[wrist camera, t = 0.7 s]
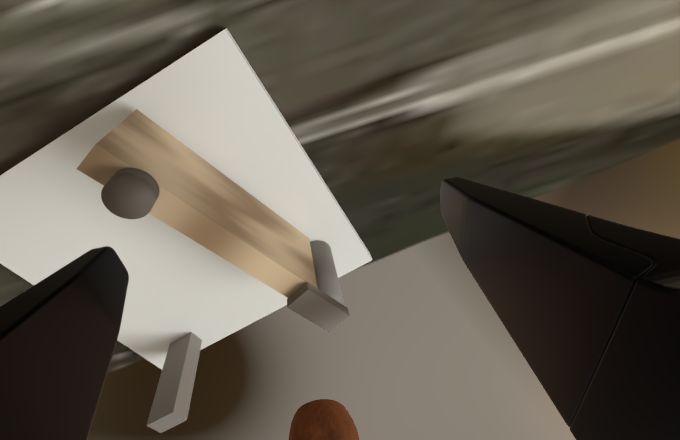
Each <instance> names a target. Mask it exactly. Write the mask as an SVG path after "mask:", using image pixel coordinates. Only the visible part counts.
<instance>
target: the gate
mask: <svg viewBox="0 0 680 440" xmlns="http://www.w3.org/2000/svg"><path fill="white" fill-rule="evenodd" d="M77 170H79V171H80V172H82V173H84V174H85V175H87V176H89V177H90V178H92V179H94V180H95V181H97V182H99V183H100V184H102V185H103V186H104V187H103V189H102V191H101V199H102V202H103V204H104V205H105V207H106V208H107V209H108V210H109V211H110V212H111V213H113V214H114V215H116V216H119V217H121V218H125V219H139V218H142V217H144V216H146V215H147V214H148V213H149V214H151V215H153V216H154V217H156V218H158V219H159V220H161V221H163V222H164V223H166V224H167V225H169V226H171V227H172V228H174V229H176V230H177V231H179V232H181V233H182V234H184V235H185V236H187V237H189V238H190V239H192V240H194V241H195V242H197V243H199V244H200V245H202V246H204V247H205V248H207V249H208V250H210V251H212V252H213V253H215V254H217V255H218V256H220V257H222V258H223V259H225V260H226V261H228V262H230V263H231V264H233V265H235V266H236V267H238V268H240V269H241V270H243V271H245V272H246V273H248V274H249V275H251V276H253V277H254V278H256V279H258V280H259V281H261V282H263V283H264V284H266V285H267V286H269V287H271V288H272V289H274V290H276V291H277V292H279V293H281V294H282V295H284V296H286V297H287V298H288V299H287V307H288V308H290V309H292V310H293V311H295V312H296V313H298V314H300V315H301V316H303V317H305V318H306V319H308V320H310V321H312V322H313V323H315V324H317V325H318V326H320V327H322V328H323V329H325V330H327V331H328V332H329V331H331V330H332V329H333V328H335V327H336V326H337V325H338V324H340V323H341V322H342V321H343V320H345V319H346V318H347V317H348V316H349V312H348V309H347V307H345V306H344V305H342V304H341V303H339V302H338V301H336V300H335V299H333V298H332V297H330V296H329V295H327V294H326V293H324V292H323V291H321V290H320V289H318V287H317V281H316V276H315V270H314V264H313V258H312V252H311V246H310V240H309V238H308V237H307V236H305V235H304V234H303V233H301V232H300V231H299V230H297V229H296V228H295V227H293V226H292V225H291V224H289V223H288V222H287V221H285V220H284V219H283V218H281V217H280V216H279V215H277V214H276V213H275V212H273V211H272V210H271V209H269V208H268V207H267V206H265V205H264V204H263V203H261V202H260V201H259V200H257V199H256V198H255V197H253V196H252V195H251V194H249V193H248V192H247V191H245V190H244V189H243V188H241V187H240V186H239V185H237V184H236V183H235V182H233V181H232V180H231V179H229V178H228V177H227V176H225V175H224V174H223V173H221V172H220V171H219V170H217V169H216V168H215V167H213V166H212V165H211V164H209V163H208V162H207V161H205V160H204V159H203V158H201V157H200V156H199V155H197V154H196V153H195V152H193V151H192V150H191V149H189V148H188V147H187V146H185V145H184V144H183V143H181V142H180V141H179V140H177V139H176V138H175V137H173V136H172V135H171V134H169V133H168V132H167V131H165V130H164V129H163V128H161V127H160V126H159V125H157V124H156V123H155V122H153V121H152V120H151V119H149V118H148V117H147V116H145V115H144V114H143V113H141V112H140V111H139V110H137V109H136V110H135V111H134V112H133V113H131V114H130V115H129V116H128V117H127V118H125V119H124V120H123V121H122V122H121V123H120V124H118V125H117V126H116V127H115V128H114V129H113V130H111V131H110V132H109V133H108V134H107V135H106V136H104V137H103V138H102V139H101V140H100V141H99V142H97V143H96V144H95V146H94V147H93V148H92V149H91V151H90V152H89V153H88V155H87V156H86V157H85V158H84V160H83V161H82V162H81V164H80V165H79V166H78V167H77Z"/></svg>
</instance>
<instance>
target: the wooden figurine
mask: <svg viewBox="0 0 680 440" xmlns="http://www.w3.org/2000/svg"><path fill="white" fill-rule="evenodd" d="M289 440H359V437H358V432H357V429H356V427H355V424H354V422H353V419H352V418H351V416H350V415H349V413H348V411H347V410H346V409H345V407H344V406H343V405H342V404H340V403H338V402H336V401H333V400H328V399H327V400H325V399H324V400H323V399H322V400H315V401H312V402H309V403H306V404H305V405H303V406H301V407H300V408H299V409H298V410H297V412H296V414H295V415H294V418H293V420H292V424H291V429H290V434H289Z"/></svg>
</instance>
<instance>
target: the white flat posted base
mask: <svg viewBox="0 0 680 440" xmlns="http://www.w3.org/2000/svg"><path fill="white" fill-rule="evenodd" d="M136 109H137V110H139V111H140V112H141V113H143V114H144V115H145V116H147V117H148V118H149V119H151V120H152V121H153V122H155V123H156V124H157V125H159V126H160V127H161V128H163V129H164V130H165V131H167V132H168V133H169V134H171V135H172V136H173V137H175V138H176V139H177V140H179V141H180V142H181V143H183V144H184V145H185V146H187V147H188V148H189V149H191V150H192V151H193V152H195V153H196V154H197V155H199V156H200V157H201V158H203V159H204V160H205V161H207V162H208V163H209V164H211V165H212V166H213V167H215V168H216V169H217V170H219V171H220V172H221V173H223V174H224V175H225V176H227V177H228V178H229V179H231V180H232V181H233V182H235V183H236V184H237V185H239V186H240V187H241V188H243V189H244V190H245V191H247V192H248V193H249V194H251V195H252V196H253V197H255V198H256V199H257V200H259V201H260V202H261V203H263V204H264V205H265V206H267V207H268V208H269V209H271V210H272V211H273V212H275V213H276V214H277V215H279V216H280V217H281V218H283V219H284V220H285V221H287V222H288V223H289V224H291V225H292V226H293V227H295V228H296V229H297V230H299V231H300V232H301V233H303V234H304V235H305V236H307V237H308V238H309V240H310V246H311V252H312V258H313V264H314V270H315V276H316V281H317V287H318V289H320V290H321V291H323V292H324V293H326V294H327V295H329V296H330V297H332V298H333V299H335V300H336V301H338V302H339V303H341V304H342V305H344V300H343V296H342V292H341V288H340V284H339V280H338V278H339V277H341V276H343V275H345V274H346V273H348V272H350V271H352V270H354V269H356V268H358V267H360V266H362V265H364V264H366V263H367V262H369V261H371V260H372V257H371V255H370V253H369V251H368V250H367V248H366V246H365V245H364V243H363V242H362V240H361V239H360V237H359V235H358V234H357V232H356V231H355V229H354V228H353V226H352V224H351V223H350V221H349V220H348V218H347V217H346V215H345V213H344V212H343V210H342V209H341V207H340V205H339V204H338V202H337V201H336V199H335V198H334V196H333V194H332V193H331V191H330V190H329V188H328V187H327V185H326V183H325V182H324V180H323V179H322V177H321V176H320V174H319V172H318V171H317V169H316V168H315V166H314V165H313V163H312V161H311V160H310V158H309V157H308V155H307V153H306V152H305V150H304V149H303V147H302V146H301V144H300V142H299V141H298V139H297V138H296V136H295V135H294V133H293V131H292V130H291V128H290V127H289V125H288V124H287V122H286V120H285V119H284V117H283V116H282V114H281V113H280V111H279V109H278V108H277V106H276V105H275V103H274V102H273V100H272V98H271V97H270V95H269V94H268V92H267V90H266V89H265V87H264V86H263V84H262V83H261V81H260V79H259V78H258V76H257V75H256V73H255V72H254V70H253V68H252V67H251V65H250V64H249V62H248V61H247V59H246V57H245V56H244V54H243V53H242V51H241V50H240V48H239V46H238V45H237V43H236V42H235V40H234V38H233V37H232V35H231V34H230V32H229V31H228V29H227V28H226V29H224V30H223V31H221V32H220V33H218V34H217V35H215V36H214V37H212V38H210V39H209V40H207V41H206V42H204V43H203V44H201V45H200V46H198V47H197V48H195V49H194V50H192V51H191V52H189V53H187V54H186V55H184V56H183V57H181V58H180V59H178V60H177V61H175V62H174V63H172V64H171V65H169V66H167V67H166V68H164V69H163V70H161V71H160V72H158V73H157V74H155V75H154V76H152V77H151V78H149V79H148V80H146V81H144V82H143V83H141V84H140V85H138V86H137V87H135V88H134V89H132V90H131V91H129V92H128V93H126V94H125V95H123V96H121V97H120V98H118V99H117V100H115V101H114V102H112V103H111V104H109V105H108V106H106V107H105V108H103V109H101V110H100V111H98V112H97V113H95V114H94V115H92V116H91V117H89V118H88V119H86V120H85V121H83V122H82V123H80V124H78V125H77V126H75V127H74V128H72V129H71V130H69V131H68V132H66V133H65V134H63V135H62V136H60V137H59V138H57V139H55V140H54V141H52V142H51V143H49V144H48V145H46V146H45V147H43V148H42V149H40V150H39V151H37V152H35V153H34V154H32V155H31V156H29V157H28V158H26V159H25V160H23V161H22V162H20V163H19V164H17V165H16V166H14V167H12V168H11V169H9V170H8V171H6V172H5V173H3V174H2V175H0V263H1V264H2V265H4V266H5V267H7V268H8V269H10V270H11V271H13V272H14V273H16V274H17V275H19V276H20V277H22V278H23V279H25V280H27V281H28V282H30V283H31V284H33V285H36V284H37V283H39V282H40V281H42V280H44V279H45V278H47V277H48V276H50V275H51V274H53V273H55V272H56V271H58V270H59V269H61V268H62V267H64V266H66V265H67V264H69V263H70V262H72V261H74V260H75V259H77V258H78V257H80V256H81V255H83V254H85V253H86V252H88V251H89V250H91V249H95V248H100V247H105V246H109V247H112V248H113V249H114V250H115V252H116V253H117V255H118V256H119V258H120V260H121V261H122V263H123V264H124V266H125V268H126V269H127V271H128V275H129V282H128V287H127V293H126V299H125V304H124V310H123V315H122V321H121V326H120V331H119V335H118V338H117V340H118V341H119V342H121V343H122V344H124V345H125V346H127V347H128V348H130V349H131V350H133V351H134V352H136V353H137V354H139V355H140V356H142V357H143V358H145V359H146V360H148V361H150V362H151V363H153V364H154V365H156V366H157V367H159V368H160V369H162V373H161V376H160V380H159V384H158V387H157V390H156V394H155V398H154V401H153V405H152V408H151V412H150V415H149V419H148V422H147V426H149V427H151V428H152V429H154V430H156V431H158V432H160V433H162V432H164V431H165V430H168V429H170V428H172V427H174V426H176V425H178V424H180V423H182V422H184V421H186V420H187V416H188V411H189V406H190V400H191V396H192V390H193V385H194V380H195V375H196V369H197V364H198V359H199V354H200V350H201V349H203V348H205V347H207V346H209V345H211V344H213V343H215V342H217V341H219V340H220V339H222V338H224V337H226V336H228V335H230V334H232V333H234V332H236V331H238V330H240V329H242V328H243V327H245V326H247V325H249V324H251V323H253V322H255V321H257V320H259V319H260V318H262V317H264V316H266V315H268V314H270V313H272V312H274V311H276V310H278V309H280V308H281V307H283V306H285V305H287V299H288V298H287V297H286V296H284V295H282V294H281V293H279V292H277V291H276V290H274V289H272V288H271V287H269V286H267V285H266V284H264V283H263V282H261V281H259V280H258V279H256V278H254V277H253V276H251V275H249V274H248V273H246V272H245V271H243V270H241V269H240V268H238V267H236V266H235V265H233V264H231V263H230V262H228V261H226V260H225V259H223V258H222V257H220V256H218V255H217V254H215V253H213V252H212V251H210V250H208V249H207V248H205V247H204V246H202V245H200V244H199V243H197V242H195V241H194V240H192V239H190V238H189V237H187V236H185V235H184V234H182V233H181V232H179V231H177V230H176V229H174V228H172V227H171V226H169V225H167V224H166V223H164V222H163V221H161V220H159V219H158V218H156V217H154V216H153V215H151V214H149V213H148V214H147V215H146V216H144V217H142V218H139V219H125V218H121V217H119V216H116V215H114V214H113V213H111V212H110V211H109V210H108V209H107V208H106V207H105V205H104V204H103V202H102V199H101V191H102V189H103V187H104V186H103V185H102V184H100V183H99V182H97V181H95V180H94V179H92V178H90V177H89V176H87V175H85V174H84V173H82V172H80V171H79V170H77V167H78V166H79V165H80V164H81V162H82V161H83V160H84V158H85V157H86V156H87V155H88V153H89V152H90V151H91V149H92V148H93V147H94V146H95V144H96V143H97V142H99V141H100V140H101V139H102V138H103V137H104V136H106V135H107V134H108V133H109V132H110V131H111V130H113V129H114V128H115V127H116V126H117V125H118V124H120V123H121V122H122V121H123V120H124V119H125V118H127V117H128V116H129V115H130V114H131V113H133V112H134V111H135V110H136Z"/></svg>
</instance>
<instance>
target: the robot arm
mask: <svg viewBox="0 0 680 440" xmlns="http://www.w3.org/2000/svg"><path fill="white" fill-rule="evenodd" d="M440 211H441V215H442V217H443V219H444V221H445V223H446V226H447V228H448V230H449V232H450V234H451V236H452V238H453V240H454V243H455V244H456V247H457V249H458V251H459V253H460V255H461V257H462V259H463V261H464V262H465V264H466V266H467V268H468V269H469V271H470V272H471V274H472V275H473V277H474V278H475V280H476V282H477V283H478V285H479V286H480V288H481V290H482V291H483V293H484V294H485V296H486V297H487V299H488V301H489V302H490V304H491V305H492V307H493V308H494V310H495V312H496V313H497V315H498V316H499V318H500V319H501V321H502V322H503V324H504V326H505V328H506V329H507V331H508V332H509V334H510V335H511V337H512V339H513V340H514V342H515V343H516V345H517V346H518V348H519V350H520V351H521V353H522V354H523V356H524V357H525V359H526V361H527V362H528V364H529V365H530V367H531V369H532V370H533V372H534V373H535V375H536V376H537V378H538V380H539V381H540V383H541V384H542V386H543V388H544V389H545V391H546V392H547V394H548V395H549V397H550V398H551V400H552V402H553V403H554V405H555V406H556V408H557V410H558V411H559V413H560V414H561V416H562V418H563V419H564V421H565V422H566V424H567V425H568V426H569V427H570V431H571V432H572V434H573V435H574V437H575V438H576V440H680V239H677V238H673V237H669V236H665V235H660V234H657V233H653V232H649V231H645V230H641V229H636V228H633V227H629V226H626V225H622V224H618V223H615V222H611V221H607V220H604V219H601V218H597V217H594V216H591V215H588V216H586V214H583V213H580V212H576V211H573V210H570V209H566V208H563V207H559V206H556V205H552V204H549V203H545V202H542V201H539V200H535V199H532V198H529V197H525V196H522V195H518V194H515V193H511V192H508V191H505V190H501V189H498V188H494V187H491V186H488V185H484V184H481V183H477V182H474V181H470V180H467V179H464V178H460V177H453V178H448V179H444V180H443V181H442V182H441V188H440ZM128 282H129V275H128V271H127V269H126V268H125V266H124V264H123V263H122V261H121V260H120V258H119V256H118V255H117V253H116V252H115V250H114V249H113V248H112V247H109V246H105V247H100V248H95V249H91V250H89V251H88V252H86V253H85V254H83V255H81V256H80V257H78V258H77V259H75V260H74V261H72V262H70V263H69V264H67V265H66V266H64V267H62V268H61V269H59V270H58V271H56V272H55V273H53V274H51V275H50V276H48V277H47V278H45V279H44V280H42V281H40V282H39V283H37V284H36V285H34V286H32V287H31V288H29V289H28V290H26V291H25V292H23V293H21V294H20V295H18V296H17V297H15V298H13V299H12V300H10V301H9V302H7V303H6V304H4V305H2V306H1V307H0V440H87V437H88V434H89V431H90V428H91V424H92V421H93V418H94V414H95V411H96V408H97V405H98V401H99V398H100V395H101V391H102V388H103V385H104V381H105V378H106V375H107V372H108V368H109V365H110V362H111V358H112V355H113V352H114V349H115V345H116V342H117V338H118V335H119V331H120V326H121V321H122V315H123V310H124V304H125V299H126V293H127V287H128Z"/></svg>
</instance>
